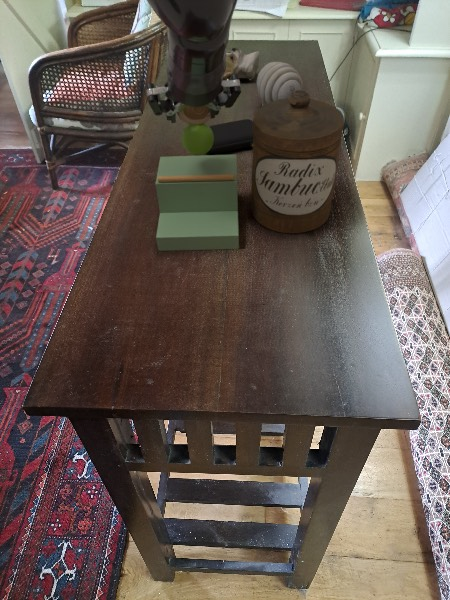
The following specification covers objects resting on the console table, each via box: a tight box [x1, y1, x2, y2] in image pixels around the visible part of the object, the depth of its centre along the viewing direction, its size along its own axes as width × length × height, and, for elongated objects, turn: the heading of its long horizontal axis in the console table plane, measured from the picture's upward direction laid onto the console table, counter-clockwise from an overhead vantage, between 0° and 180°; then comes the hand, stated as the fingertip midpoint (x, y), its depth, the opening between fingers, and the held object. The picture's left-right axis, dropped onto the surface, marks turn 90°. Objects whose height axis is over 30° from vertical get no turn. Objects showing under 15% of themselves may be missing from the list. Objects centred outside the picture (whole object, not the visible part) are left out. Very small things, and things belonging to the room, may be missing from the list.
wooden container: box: [250, 90, 345, 234], centre depth 79 cm, size 15×15×22 cm
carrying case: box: [206, 118, 253, 155], centre depth 103 cm, size 11×3×15 cm
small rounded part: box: [176, 106, 214, 156], centre depth 75 cm, size 5×6×12 cm
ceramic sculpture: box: [223, 47, 261, 82], centre depth 126 cm, size 11×9×15 cm
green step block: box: [155, 154, 240, 252], centre depth 81 cm, size 14×16×10 cm
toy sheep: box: [256, 61, 304, 107], centre depth 111 cm, size 11×17×11 cm, turn 31°
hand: (191, 114), depth 76 cm, fingers closed on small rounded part, 6 cm apart
